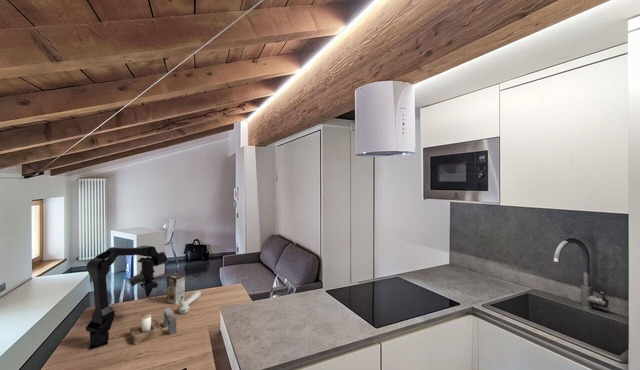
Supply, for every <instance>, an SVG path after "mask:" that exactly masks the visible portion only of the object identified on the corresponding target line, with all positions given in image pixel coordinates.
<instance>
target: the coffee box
mask: <svg viewBox="0 0 640 370" xmlns="http://www.w3.org/2000/svg"><path fill="white" fill-rule="evenodd" d="M185 279H186V276H185V275H182V274H178V273H174V274H170V275H167V276H166V302H167V303H170V304H173V305H176V306H177V305H178V304H181V303H182V302H183V301H185V287H186V285H185V283H186V282H185V281H186V280H185Z"/></svg>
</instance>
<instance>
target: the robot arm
mask: <svg viewBox="0 0 640 370" xmlns="http://www.w3.org/2000/svg"><path fill="white" fill-rule="evenodd" d="M120 256H139V257H140V258H139V259H138V260H137V261H136V262H137V263H141V265H140V266H141V269H140V270H139V273H138V274H136V275H133V276H132V277H129V278H128V283H129V284H130V286H131V287H134V286H136V285H138V284H139V283H140V284H139V285H140V286H141V288H142V289H143V290H144V294H145V297H146V298H149V297H150V295H151V293H152V291H153V290H154V289H157V288H158V287H159V283H158V282H157V281H156V280H155V277H154V273H156V271H155V269H154V267H157V266H158V267H159V266H160V265H163V264H166V263H167V261H168V258H167V256H166V254H165V251H160V252H158V251H157V250H156V247H155V246H153V245H146V244H145V245H144V244H143V245H139V246H136V247H113V246H112V247H109V248H107V249H106V250H105V251H103V252H101V253H99V254H98V255H96V256H95V257H93V258H92V259H90V260H89V261H88V262H87V263H86V269H87V272H88V274H89V276H90V278H91V279H92V286H93V288H92V289H93V296H94V311H93V312H92V314H91V320H90V321H89V322H88V324H87V325H86V327H85V330H86V332H88V333H89V342H88V345H89V350H93V349H96V348H99V347H103V346H106V345H108V344H109V341H110V330H111V327H112V325H113V322H114V319H115V317H116V314H115V311H116V310H115V307H111V306H109V294H108V283H107V276H108V273H109V272H110V266H111V265H113V264H114V263H115V261H116V260H117V258H118V257H120Z"/></svg>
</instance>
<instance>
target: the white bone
mask: <svg viewBox="0 0 640 370" xmlns="http://www.w3.org/2000/svg"><path fill="white" fill-rule="evenodd" d="M201 296H202V292H201V290H197V291H194V292H193V293H192V295H190V297H188V298H187V299H186V300H184V301H183V302H181V303H180V307H179V308H178V311H179V312H178V313H179V314H181V315H182V314H186V313H189V310H190V307H191V306H190V304H192V303H193V302H195V301H196V300H197V299H199V298H200V297H201Z"/></svg>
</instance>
